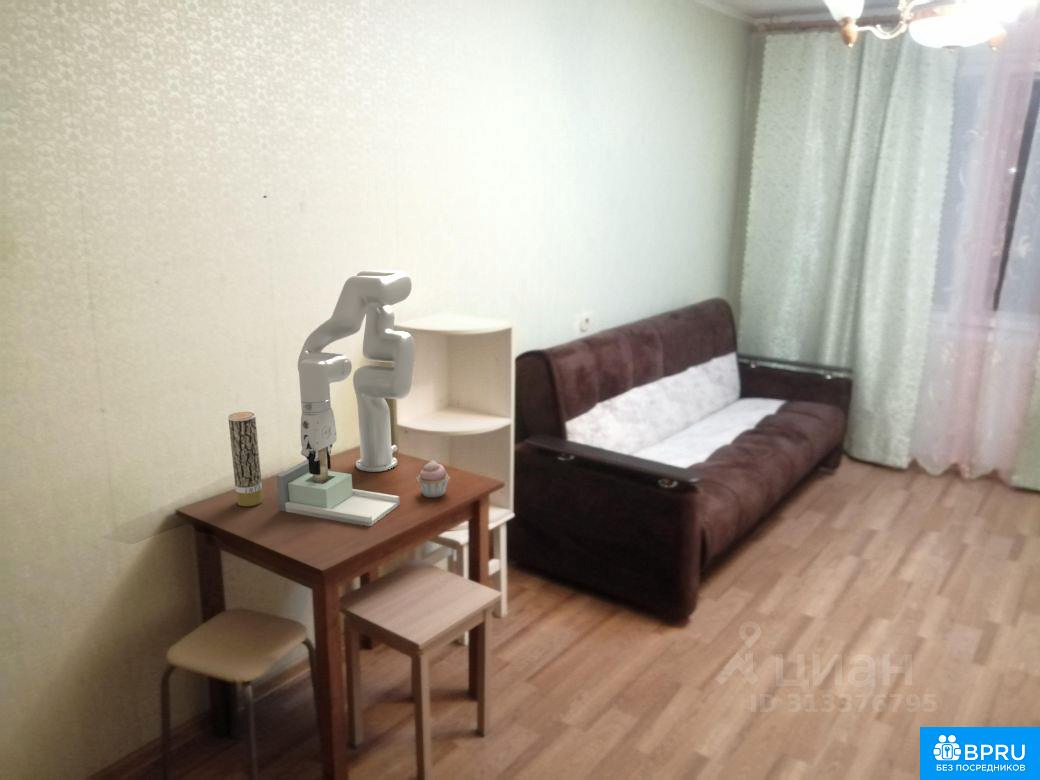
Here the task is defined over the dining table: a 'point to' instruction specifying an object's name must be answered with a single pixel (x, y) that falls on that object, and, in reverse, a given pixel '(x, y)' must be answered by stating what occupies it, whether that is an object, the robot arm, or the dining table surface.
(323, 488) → the slide block
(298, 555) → the dining table surface
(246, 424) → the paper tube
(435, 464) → the cupcake
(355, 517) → the rail base
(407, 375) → the robot arm
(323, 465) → the dowel
